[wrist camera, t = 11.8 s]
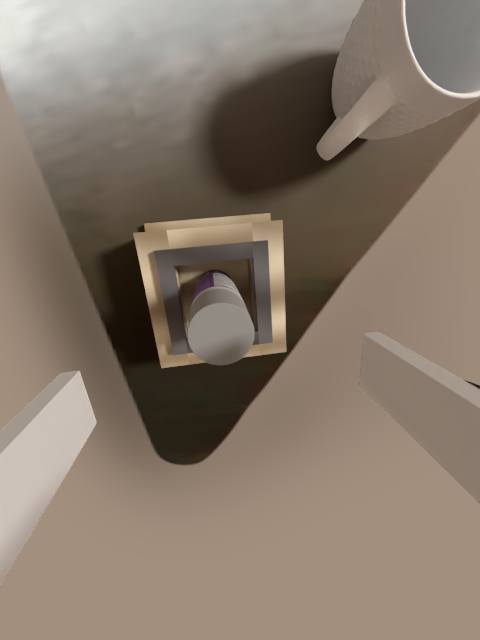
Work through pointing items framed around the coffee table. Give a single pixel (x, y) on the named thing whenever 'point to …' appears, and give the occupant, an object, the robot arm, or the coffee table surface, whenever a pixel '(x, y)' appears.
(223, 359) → the container
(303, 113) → the coffee table surface
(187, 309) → the socket
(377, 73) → the mug
